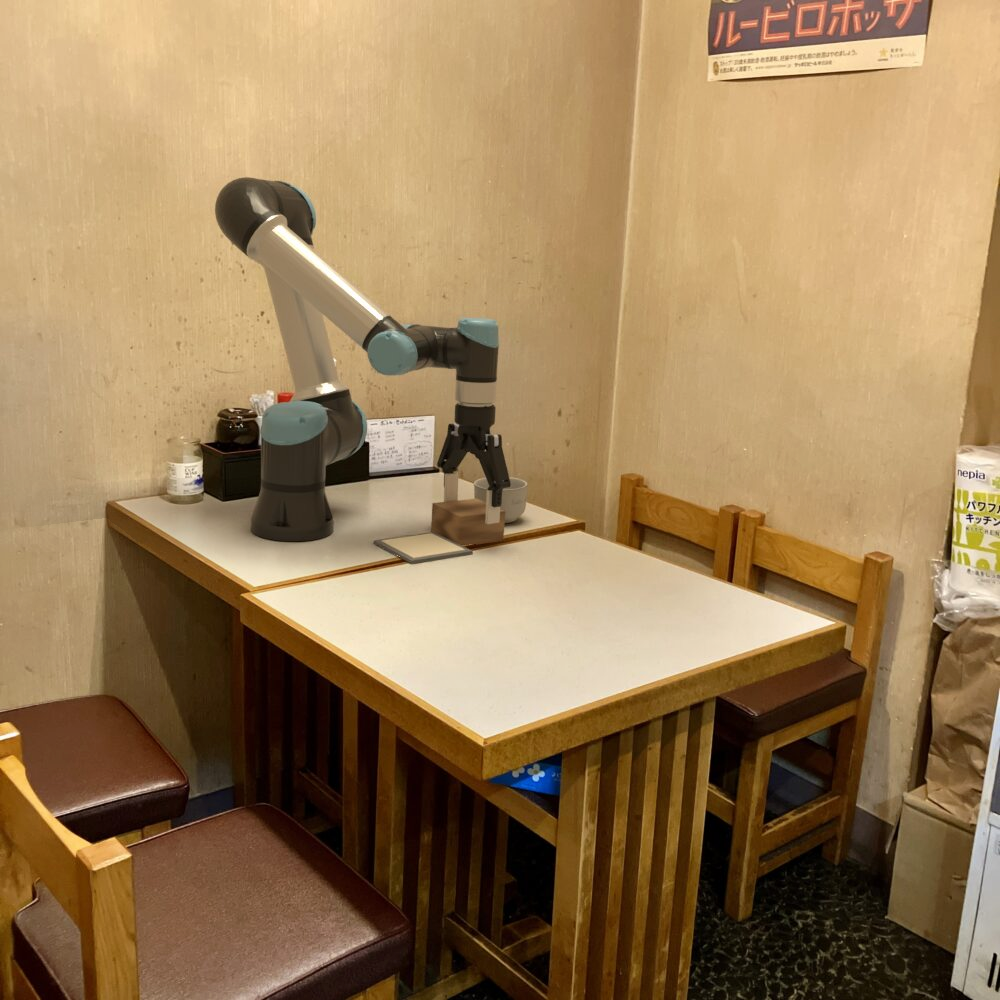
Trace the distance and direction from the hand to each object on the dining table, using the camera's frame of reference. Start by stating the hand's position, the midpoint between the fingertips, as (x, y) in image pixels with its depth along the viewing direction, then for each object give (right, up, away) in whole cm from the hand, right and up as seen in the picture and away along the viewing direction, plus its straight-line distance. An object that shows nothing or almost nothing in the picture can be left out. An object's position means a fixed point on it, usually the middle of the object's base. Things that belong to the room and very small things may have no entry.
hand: (470, 514), depth 189 cm
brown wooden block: (-1, -4, +1) cm, 5 cm away
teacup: (+5, -1, +16) cm, 17 cm away
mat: (-9, -6, -8) cm, 13 cm away
